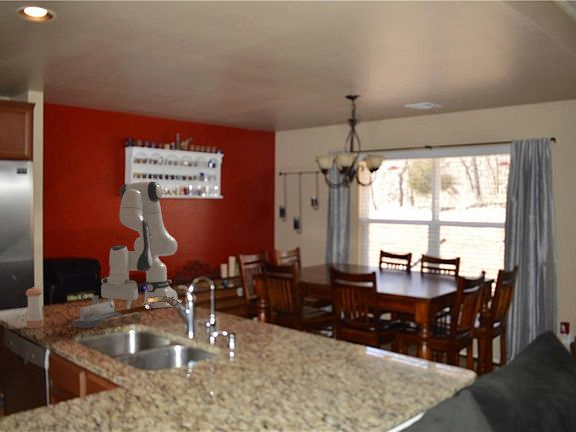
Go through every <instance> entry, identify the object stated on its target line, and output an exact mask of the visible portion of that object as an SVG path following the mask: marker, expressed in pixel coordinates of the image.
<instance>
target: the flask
mask: <svg viewBox="0 0 576 432" xmlns="http://www.w3.org/2000/svg"><path fill="white" fill-rule="evenodd" d="M99 297H100V296H99V295H92V296H91V298H92V302H91V305H94V304H98V303H100V302H99Z"/></svg>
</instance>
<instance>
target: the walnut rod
mask: <svg viewBox="0 0 576 432" xmlns="http://www.w3.org/2000/svg"><path fill="white" fill-rule="evenodd" d="M141 321H142V313H141V312H137V311H134V312H130V313H125V314H121V316H116V317H112V318H108V319H103V320H101V325H100V328H101V329H105V330H107V329H113V328H117V327H119V326H123V325H129V324H131V323H132V324H133V323H137V322H141Z"/></svg>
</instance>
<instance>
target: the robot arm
mask: <svg viewBox="0 0 576 432" xmlns="http://www.w3.org/2000/svg"><path fill="white" fill-rule="evenodd" d="M162 195H163V190H162V186H161V185H160V184H159V182H157V181H139V182H138V181H137V182H132V183H129V182H128V183H124V184H123V185H122V186H121V187H120V190H119V196H120V199H121V201H120V208H119V209H120V210H119V220H120V222H121V224H122V225H123V226H124V227H127V228H129V229H131V230H134V231H136V232H138V234H139V237H137V238H136V239H135V241H134V243H133V249H134V250H133V251H132V250H128V246H127V245H123V244H120V245H119V244H118V245H114V246H112V247H111V248H110V251H109V260H108V261H109V276H107V277H103V278H102V279H101V280H100V281H101V282H100V283H101V287H100V288H101V289H100V292H101V294H100V295H101V297H102V298H103V299H107V301H108V302H109V304H110V308H114V309H115V307H116V306H115V305H116V303H113V301H114V300H126V302H127V303H126V305H124V309H125V310H130V309H131V305H132V302H133V301H136V300H138V298H139V292H138V291H139V290H138V284H137V282H136V281H135V280H133V279H131V280H130V271H135V272H145V275H146V276H145V278H146V279H145V280H146V281H145V288H146V290H145V292H144V302H143V306H144V304H145V302H146V300H147V299H148V298H151V297H154V296H167V297H170V298H173V299H175V300H177V301H178V302H179V304H180V303H182V302H183V299H182V300H181V299H179V298H178V293H177V291H176V290H174V289H173V288H172V287H171V286H170V284H172V282H173V281H172V279H167V278H168V276H167V273H168V271H167V270H168V269H167V266H166V264H165V263H163V262H162V261H161V260H160V258H159V257H168V256H172V255H174V254H175V253H176V252H177V251H178V242H177V240H176V239H175V237H173V236H172V235H171V234H169V232H168V231H167V228H166V227H165V225H164V221H163V215H162V207H161V204H160V200H161V198H162ZM172 307H173V306H171V305H170V304H169V303H167V302H158V303H154V304H153V307H152V308H151V309H162V308H172Z"/></svg>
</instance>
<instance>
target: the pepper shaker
mask: <svg viewBox="0 0 576 432" xmlns="http://www.w3.org/2000/svg"><path fill="white" fill-rule="evenodd" d="M42 293H43V291H42V289H40V288H39V287H38V288H37V287H35V286H32V287H31V288H28V289H27V290H26V292H25V295H26V296H27V311H26V317H27V318H26V319H27V320H26V328H27V329H39V328H43V327H44V318H43V308H42V304H41V295H42Z"/></svg>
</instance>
